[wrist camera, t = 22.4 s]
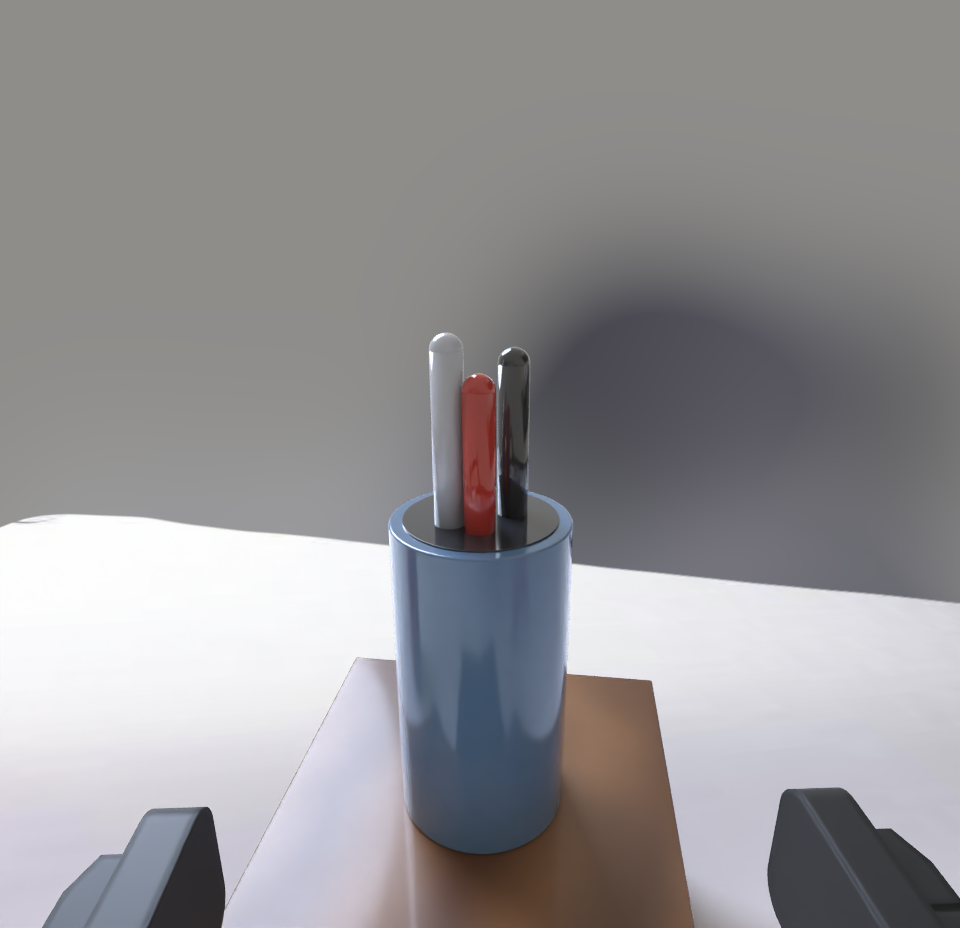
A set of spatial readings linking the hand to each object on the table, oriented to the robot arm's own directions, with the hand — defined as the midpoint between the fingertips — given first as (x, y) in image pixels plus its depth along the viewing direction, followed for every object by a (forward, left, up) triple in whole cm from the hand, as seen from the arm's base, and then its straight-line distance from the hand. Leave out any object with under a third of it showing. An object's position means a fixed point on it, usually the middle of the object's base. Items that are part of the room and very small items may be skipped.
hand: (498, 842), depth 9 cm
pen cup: (-2, +11, -10) cm, 14 cm away
